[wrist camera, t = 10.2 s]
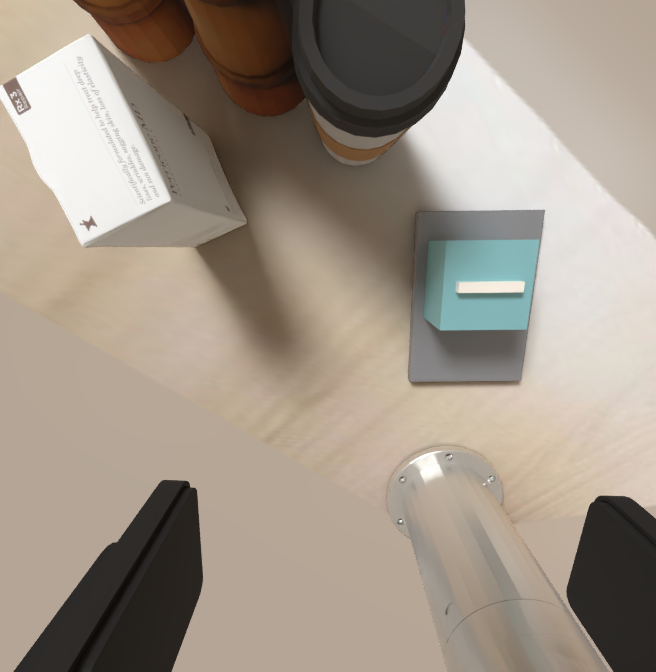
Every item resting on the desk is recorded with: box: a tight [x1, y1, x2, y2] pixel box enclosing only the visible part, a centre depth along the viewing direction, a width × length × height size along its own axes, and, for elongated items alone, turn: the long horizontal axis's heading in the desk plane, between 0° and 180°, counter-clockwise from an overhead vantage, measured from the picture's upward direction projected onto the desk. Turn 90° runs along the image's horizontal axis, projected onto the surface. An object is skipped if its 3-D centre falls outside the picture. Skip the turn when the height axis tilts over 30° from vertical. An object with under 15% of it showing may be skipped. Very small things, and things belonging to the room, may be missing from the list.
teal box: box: [424, 240, 540, 330], centre depth 29 cm, size 7×7×6 cm
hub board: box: [408, 210, 545, 382], centre depth 31 cm, size 16×11×5 cm
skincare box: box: [0, 34, 247, 248], centre depth 24 cm, size 8×6×15 cm
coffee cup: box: [292, 0, 465, 166], centre depth 22 cm, size 8×8×15 cm
